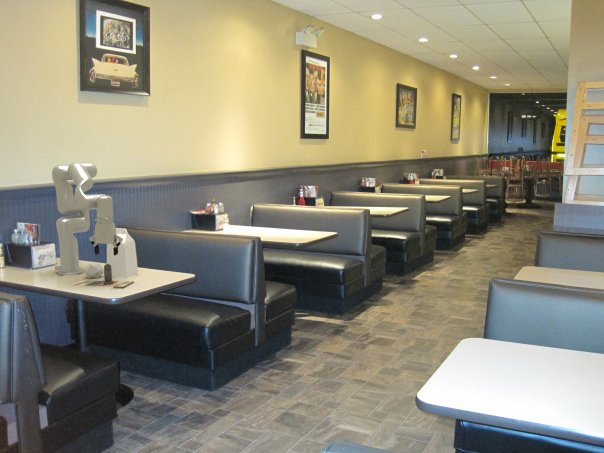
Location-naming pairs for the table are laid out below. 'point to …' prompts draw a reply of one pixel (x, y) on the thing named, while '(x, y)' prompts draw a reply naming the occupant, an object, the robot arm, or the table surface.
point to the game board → (98, 283)
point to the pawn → (108, 275)
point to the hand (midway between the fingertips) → (106, 254)
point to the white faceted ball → (94, 271)
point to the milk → (123, 256)
